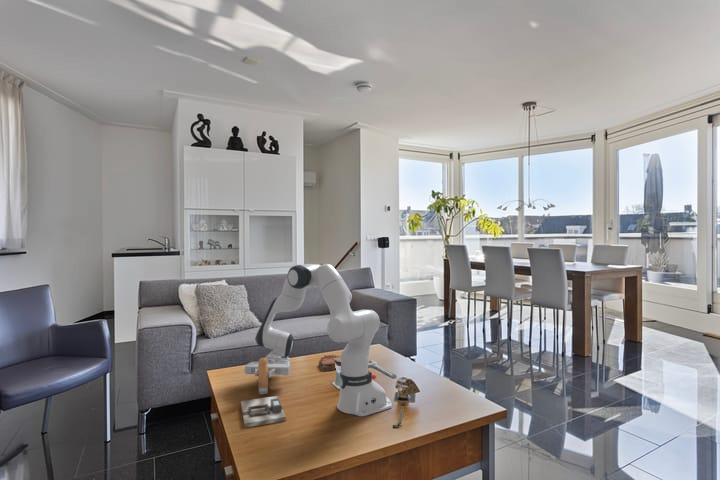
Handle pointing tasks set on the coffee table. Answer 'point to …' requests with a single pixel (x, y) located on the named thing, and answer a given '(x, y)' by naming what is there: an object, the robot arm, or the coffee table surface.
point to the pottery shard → (327, 363)
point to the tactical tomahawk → (400, 416)
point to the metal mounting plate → (260, 412)
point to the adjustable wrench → (381, 368)
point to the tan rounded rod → (262, 376)
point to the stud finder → (275, 405)
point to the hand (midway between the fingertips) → (262, 374)
